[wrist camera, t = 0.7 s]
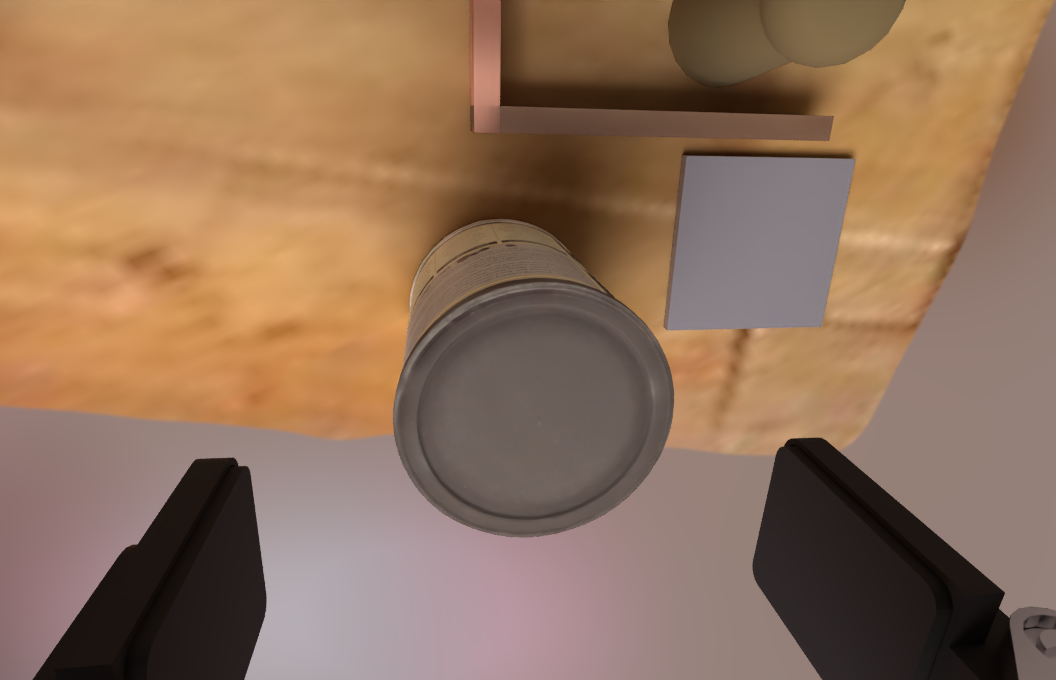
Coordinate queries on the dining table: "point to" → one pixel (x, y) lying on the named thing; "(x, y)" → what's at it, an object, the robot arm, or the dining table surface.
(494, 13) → the brown u-shaped frame
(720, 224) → the coaster
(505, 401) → the coffee can
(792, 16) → the tan hourglass shape
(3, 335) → the dining table surface
